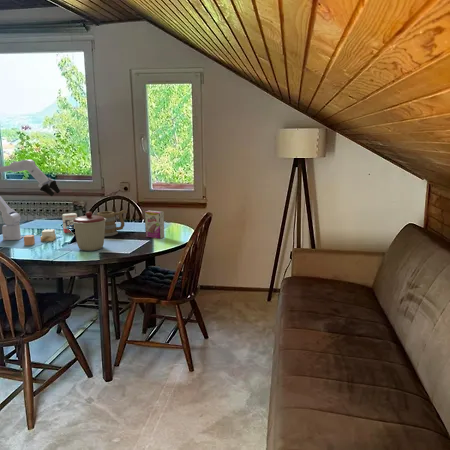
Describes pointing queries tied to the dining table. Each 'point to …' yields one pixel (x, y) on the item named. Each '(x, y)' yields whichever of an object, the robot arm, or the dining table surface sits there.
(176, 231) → the dining table surface
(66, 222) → the ink box
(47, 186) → the robot arm
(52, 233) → the off-white slab
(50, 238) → the beech slab
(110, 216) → the tankard
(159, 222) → the candy bar box
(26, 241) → the terracotta block
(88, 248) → the canister
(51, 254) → the dining table surface
